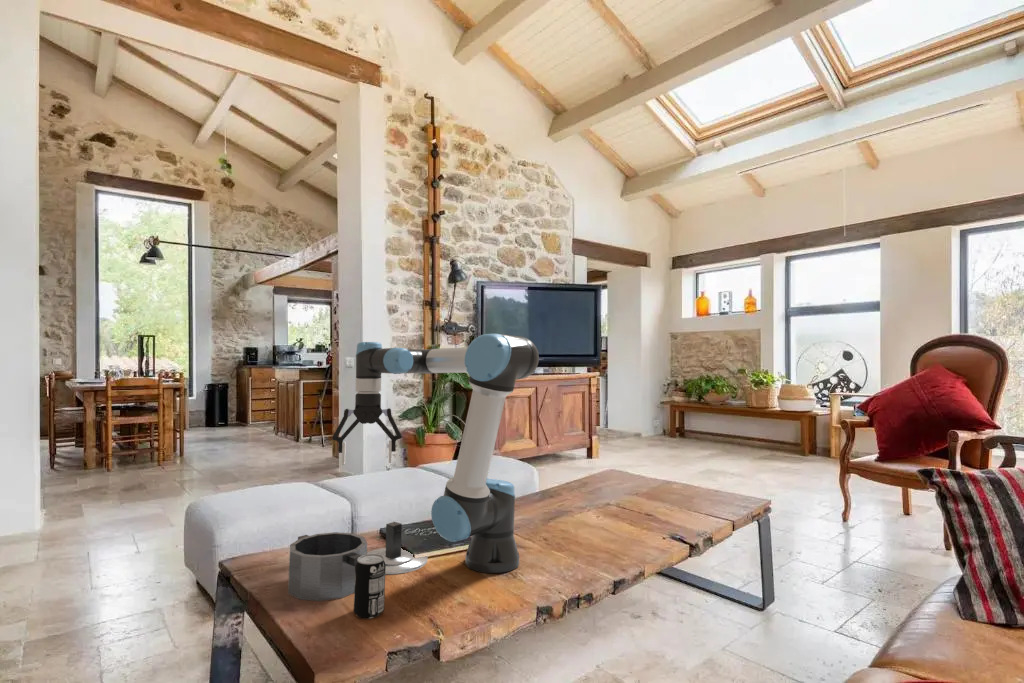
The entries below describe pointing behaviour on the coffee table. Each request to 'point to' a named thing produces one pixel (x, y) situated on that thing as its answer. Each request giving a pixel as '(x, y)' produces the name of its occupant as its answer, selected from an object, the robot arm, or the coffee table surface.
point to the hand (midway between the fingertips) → (367, 463)
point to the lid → (397, 553)
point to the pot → (324, 565)
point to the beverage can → (369, 586)
